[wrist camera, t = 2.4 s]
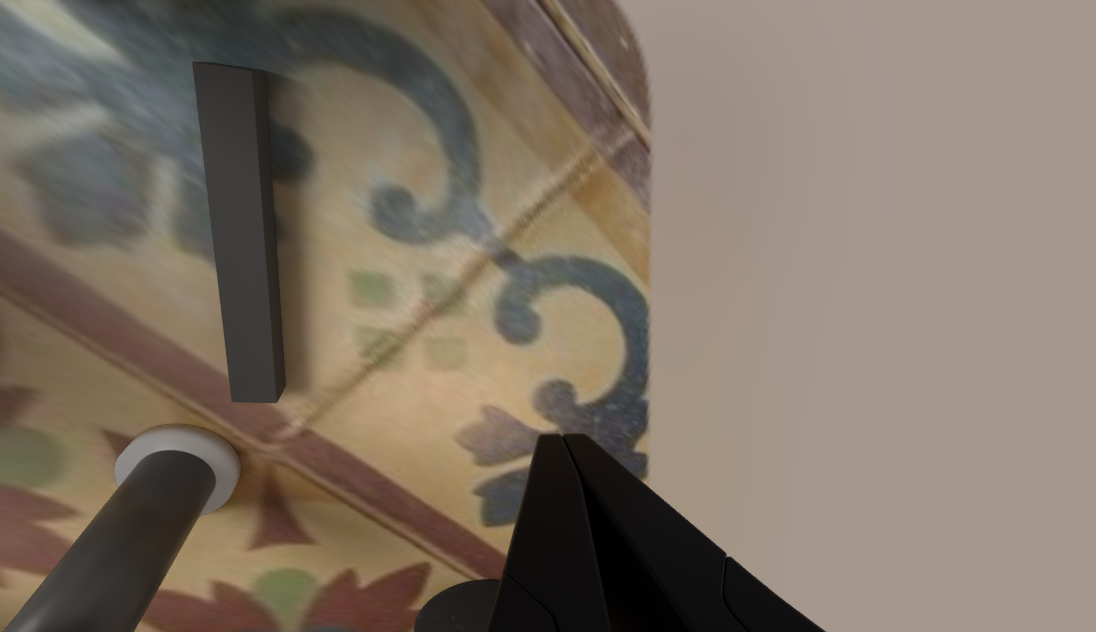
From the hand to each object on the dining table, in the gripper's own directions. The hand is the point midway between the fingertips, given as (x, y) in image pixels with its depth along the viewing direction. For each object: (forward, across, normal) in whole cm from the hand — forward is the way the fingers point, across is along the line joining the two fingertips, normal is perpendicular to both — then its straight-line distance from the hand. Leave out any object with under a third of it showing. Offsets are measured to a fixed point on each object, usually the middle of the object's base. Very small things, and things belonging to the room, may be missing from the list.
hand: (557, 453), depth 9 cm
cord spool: (+13, +13, +10) cm, 21 cm away
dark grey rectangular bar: (+13, +9, 0) cm, 16 cm away
